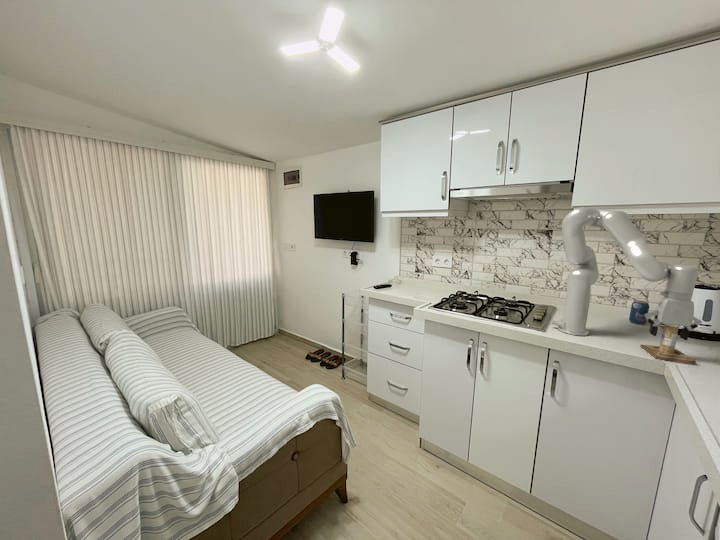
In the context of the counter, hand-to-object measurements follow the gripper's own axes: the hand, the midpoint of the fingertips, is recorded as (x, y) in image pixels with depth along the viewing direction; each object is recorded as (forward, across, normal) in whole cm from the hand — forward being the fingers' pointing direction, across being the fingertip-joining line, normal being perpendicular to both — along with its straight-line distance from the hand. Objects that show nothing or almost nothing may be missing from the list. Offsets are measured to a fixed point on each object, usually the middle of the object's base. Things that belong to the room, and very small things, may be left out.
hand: (667, 336), depth 122 cm
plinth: (+8, +1, 0) cm, 8 cm away
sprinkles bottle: (+7, 0, 0) cm, 7 cm away
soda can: (+9, +10, +46) cm, 47 cm away
